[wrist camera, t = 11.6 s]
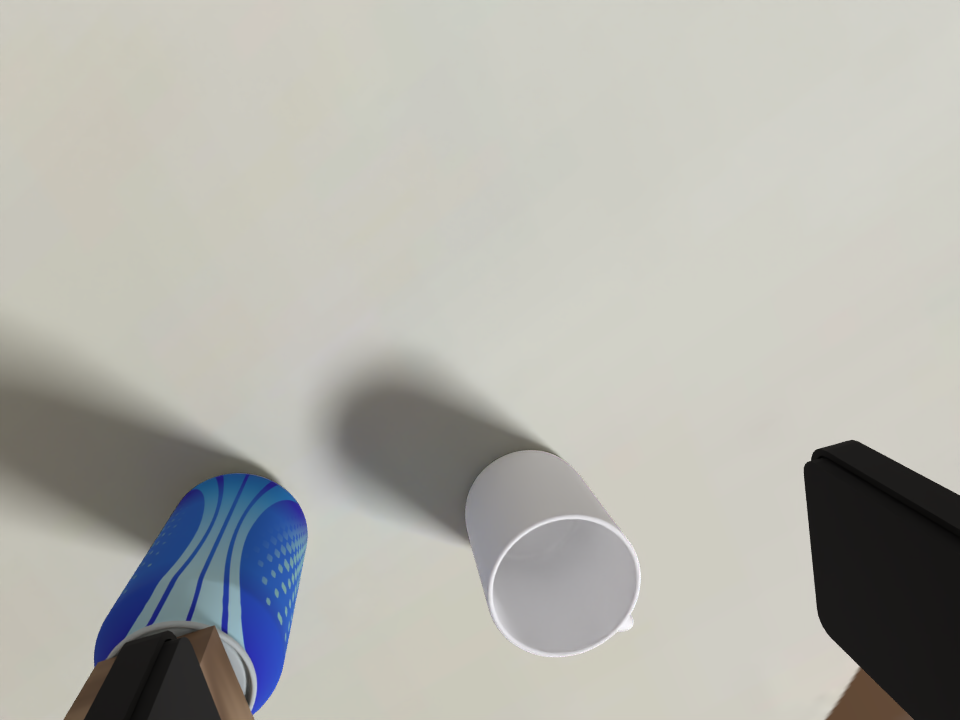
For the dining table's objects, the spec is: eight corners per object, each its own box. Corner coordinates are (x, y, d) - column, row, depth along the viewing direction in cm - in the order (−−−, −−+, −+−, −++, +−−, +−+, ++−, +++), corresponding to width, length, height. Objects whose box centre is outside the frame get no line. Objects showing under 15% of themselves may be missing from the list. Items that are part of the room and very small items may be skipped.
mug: (556, 611, 51) (603, 717, 40) (436, 511, 48) (453, 597, 37) (641, 528, 50) (710, 613, 40) (525, 420, 47) (567, 483, 37)
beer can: (183, 456, 44) (82, 594, 29) (319, 475, 46) (291, 615, 30) (167, 576, 46) (63, 768, 31) (298, 590, 48) (262, 779, 32)
